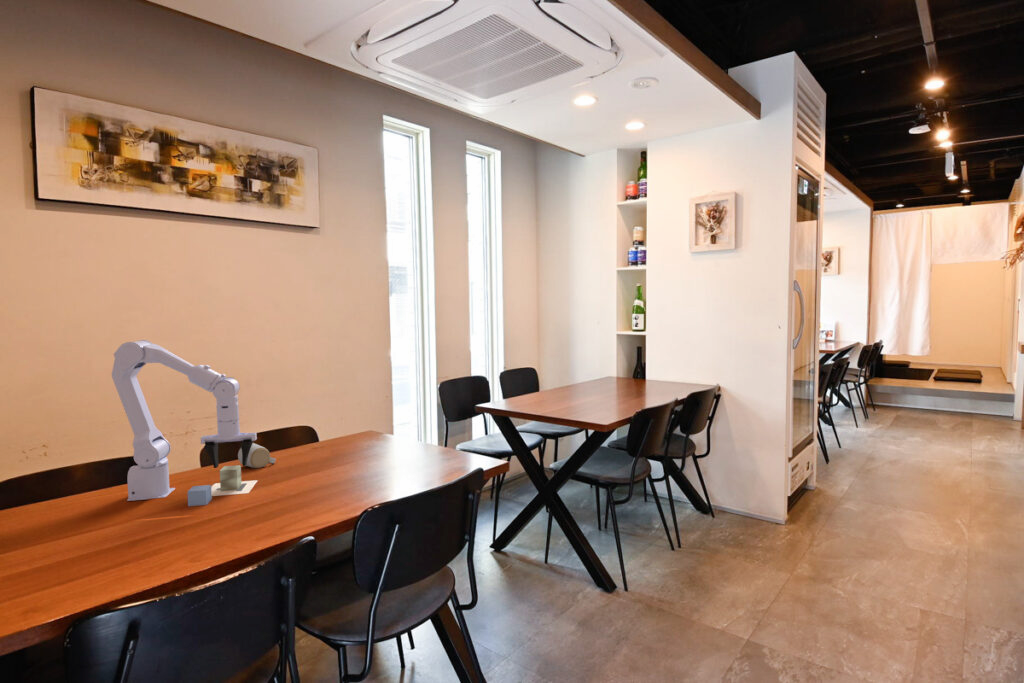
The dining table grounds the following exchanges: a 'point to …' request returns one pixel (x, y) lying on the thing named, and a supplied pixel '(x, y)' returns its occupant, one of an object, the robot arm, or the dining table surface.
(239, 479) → the green block
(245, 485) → the letter card
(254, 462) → the ceramic mug
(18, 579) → the dining table surface
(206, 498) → the blue cube
